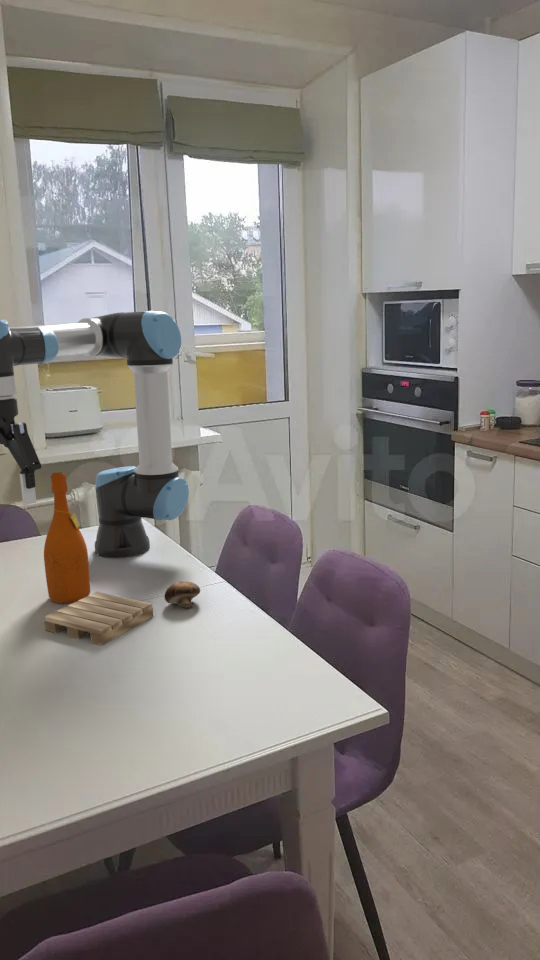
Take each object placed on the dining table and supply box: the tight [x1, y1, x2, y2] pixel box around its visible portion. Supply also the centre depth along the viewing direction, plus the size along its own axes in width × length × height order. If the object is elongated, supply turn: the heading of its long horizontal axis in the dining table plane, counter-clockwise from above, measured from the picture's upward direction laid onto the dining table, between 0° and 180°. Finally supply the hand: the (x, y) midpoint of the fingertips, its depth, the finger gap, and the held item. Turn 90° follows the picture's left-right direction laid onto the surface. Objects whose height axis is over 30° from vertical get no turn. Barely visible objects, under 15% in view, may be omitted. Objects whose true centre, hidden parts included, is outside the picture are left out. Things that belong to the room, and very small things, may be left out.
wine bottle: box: [43, 471, 91, 604], centre depth 171 cm, size 10×10×30 cm
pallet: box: [44, 591, 154, 646], centre depth 159 cm, size 16×16×3 cm
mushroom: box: [164, 580, 201, 608], centre depth 166 cm, size 8×8×6 cm
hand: (8, 499), depth 155 cm, fingers open, 13 cm apart
